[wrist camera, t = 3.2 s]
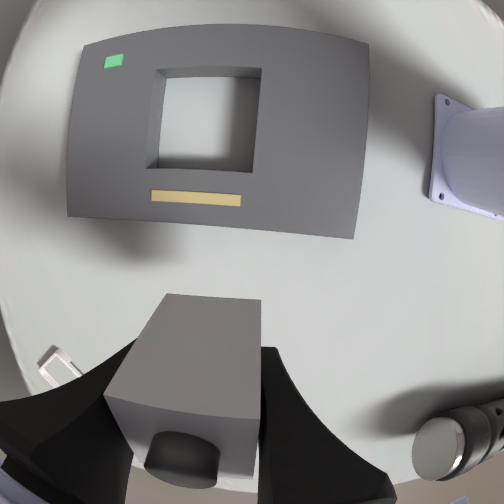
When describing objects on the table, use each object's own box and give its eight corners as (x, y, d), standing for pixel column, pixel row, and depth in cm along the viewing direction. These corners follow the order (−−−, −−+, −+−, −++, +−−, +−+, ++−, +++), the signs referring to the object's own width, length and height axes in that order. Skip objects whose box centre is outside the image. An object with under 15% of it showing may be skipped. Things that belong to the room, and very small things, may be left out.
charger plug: (261, 299, 11) (259, 453, 4) (256, 370, 12) (251, 502, 6) (166, 293, 11) (87, 420, 4) (175, 363, 12) (132, 482, 6)
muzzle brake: (497, 414, 26) (519, 447, 16) (397, 439, 25) (419, 498, 15) (526, 374, 23) (553, 407, 13) (438, 390, 22) (475, 454, 12)
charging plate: (358, 55, 13) (369, 43, 11) (343, 231, 17) (354, 240, 15) (98, 53, 13) (82, 45, 11) (83, 210, 17) (66, 217, 15)
